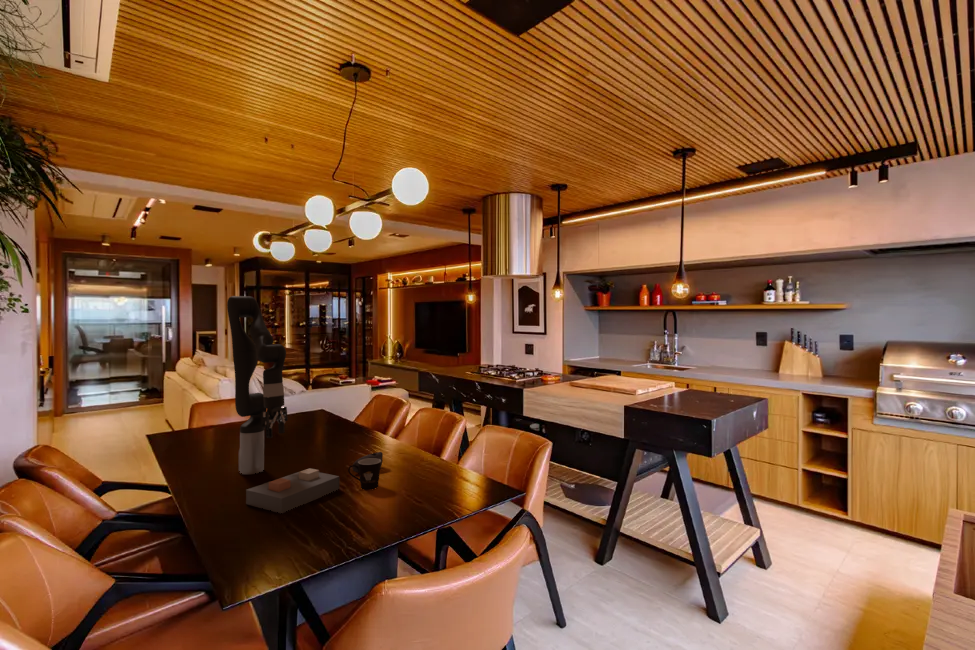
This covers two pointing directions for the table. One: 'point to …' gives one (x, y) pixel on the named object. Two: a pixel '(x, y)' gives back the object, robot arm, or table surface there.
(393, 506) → the table surface
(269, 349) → the robot arm
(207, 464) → the table surface
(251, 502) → the key panel
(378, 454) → the perforated stone tool
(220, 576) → the table surface
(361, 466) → the coffee mug
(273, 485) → the terracotta key
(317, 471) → the offwhite key
